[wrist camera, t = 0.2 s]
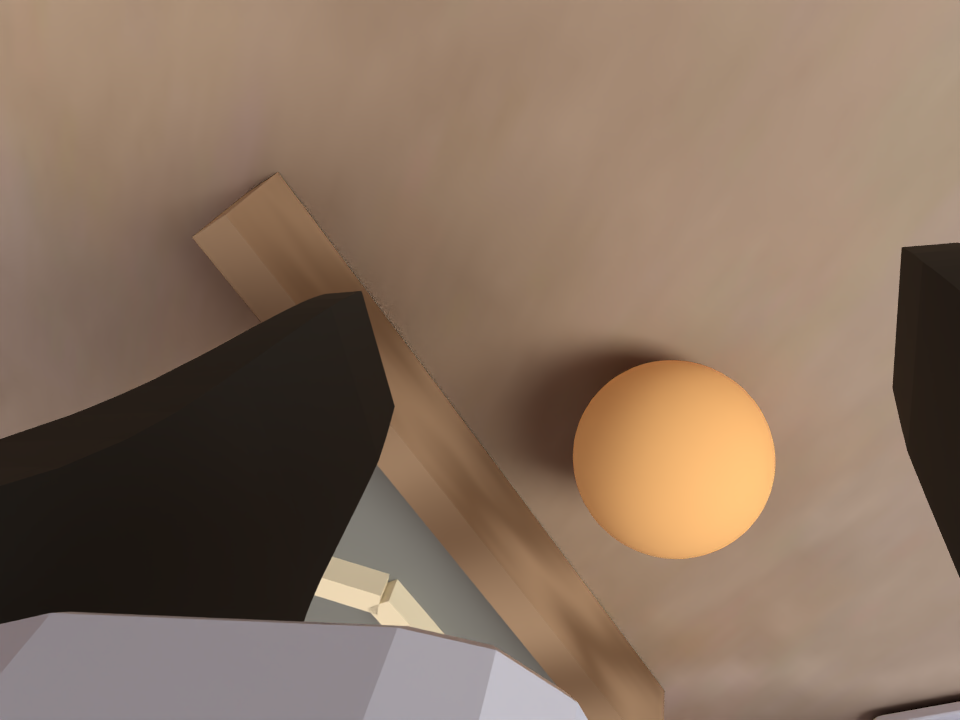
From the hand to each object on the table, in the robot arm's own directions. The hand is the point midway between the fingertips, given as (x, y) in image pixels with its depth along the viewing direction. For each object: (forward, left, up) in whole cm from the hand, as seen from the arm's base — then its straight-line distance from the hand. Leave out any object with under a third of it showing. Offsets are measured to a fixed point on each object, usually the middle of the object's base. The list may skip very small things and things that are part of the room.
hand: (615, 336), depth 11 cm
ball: (-7, +3, -7) cm, 11 cm away
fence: (-7, +10, -10) cm, 15 cm away
